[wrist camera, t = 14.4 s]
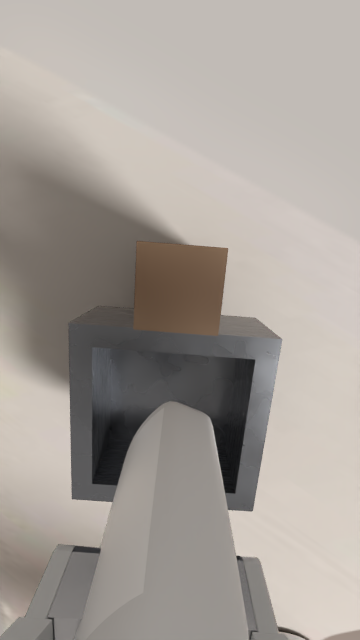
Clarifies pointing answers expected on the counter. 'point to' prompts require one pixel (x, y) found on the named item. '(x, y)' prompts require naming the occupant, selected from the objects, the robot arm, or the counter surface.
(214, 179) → the counter surface
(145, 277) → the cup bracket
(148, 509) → the eye dropper bottle
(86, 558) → the robot arm
